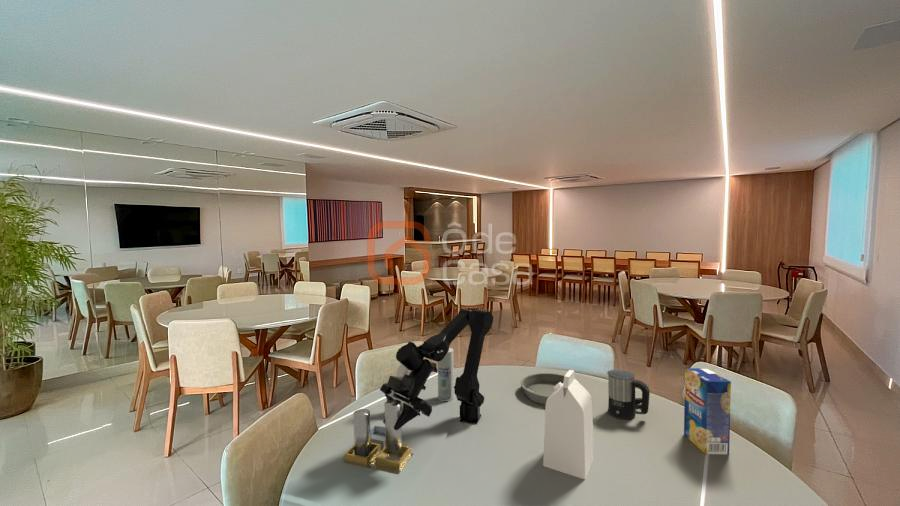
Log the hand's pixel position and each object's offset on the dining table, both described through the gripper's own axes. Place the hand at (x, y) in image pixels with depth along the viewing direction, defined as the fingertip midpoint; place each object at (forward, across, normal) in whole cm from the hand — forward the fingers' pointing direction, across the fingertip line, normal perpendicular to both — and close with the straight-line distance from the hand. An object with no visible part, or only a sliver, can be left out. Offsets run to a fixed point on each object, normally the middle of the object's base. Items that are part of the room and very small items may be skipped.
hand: (389, 426), depth 106 cm
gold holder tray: (+9, -4, +7) cm, 12 cm away
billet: (+4, 0, +6) cm, 7 cm away
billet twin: (+10, -8, +4) cm, 14 cm away
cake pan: (-43, +11, +61) cm, 75 cm away
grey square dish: (+5, -12, +11) cm, 17 cm away
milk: (-17, +37, +34) cm, 53 cm away
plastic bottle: (-9, -22, +25) cm, 35 cm away
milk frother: (-48, +39, +65) cm, 89 cm away
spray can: (-21, -18, +37) cm, 47 cm away
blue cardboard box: (-43, +64, +60) cm, 98 cm away
